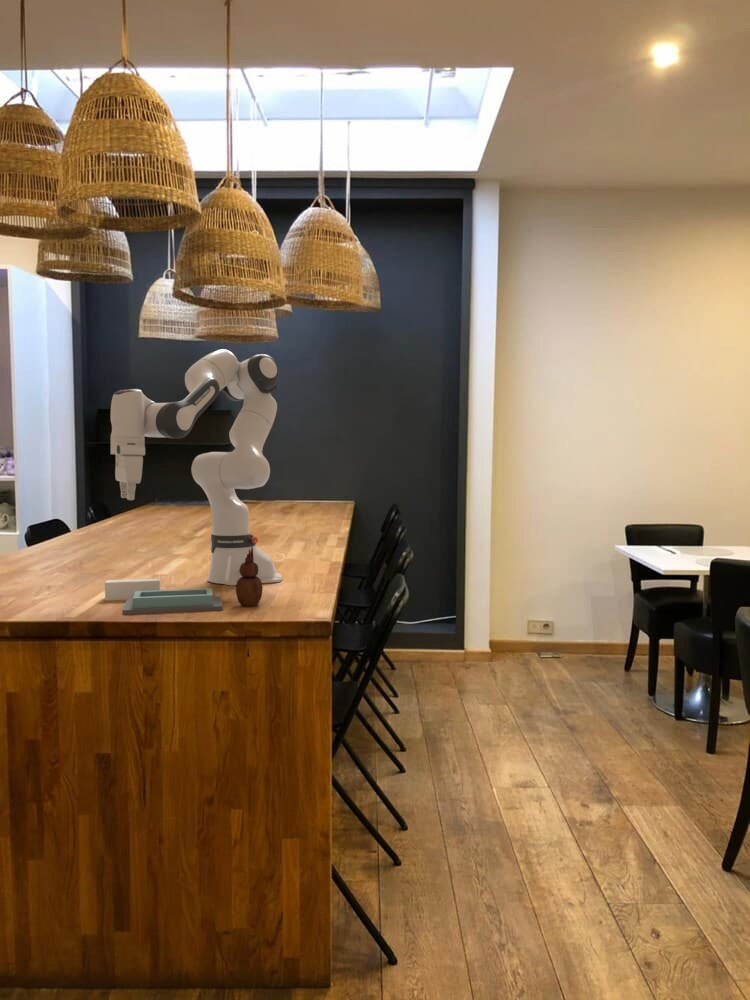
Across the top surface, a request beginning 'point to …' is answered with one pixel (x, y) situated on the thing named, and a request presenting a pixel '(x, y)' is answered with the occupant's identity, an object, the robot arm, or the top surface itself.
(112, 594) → the long cream plank
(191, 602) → the cradle jig
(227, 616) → the top surface
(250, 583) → the wooden figurine
